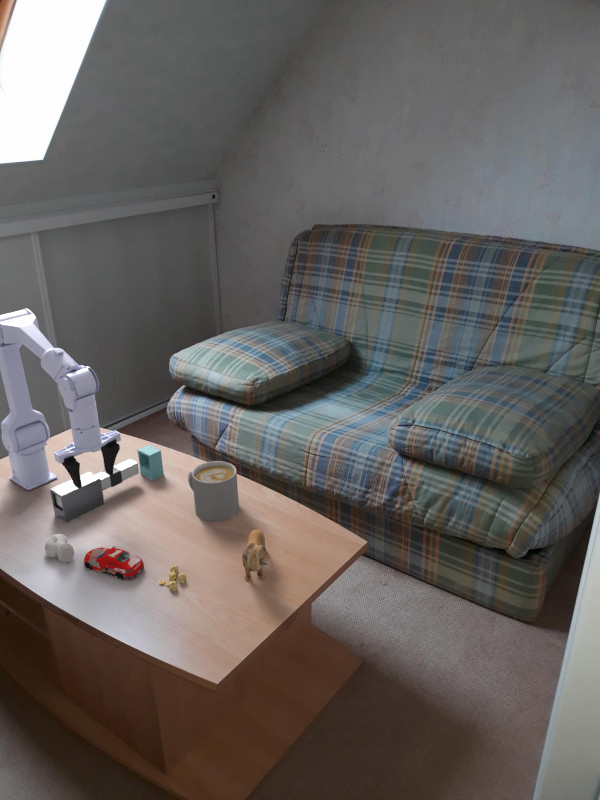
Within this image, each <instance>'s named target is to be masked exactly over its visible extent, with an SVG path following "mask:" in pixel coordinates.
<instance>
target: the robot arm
mask: <svg viewBox="0 0 600 800" xmlns="http://www.w3.org/2000/svg"><path fill="white" fill-rule="evenodd" d="M22 346H23V347H26V348H27V349H28V350H29V351H30V352H31V353H33V354H34V355H35V356H37V357H38V358H39V359H40V367H41V368H42V369H43V370H44V371H45V372H46V373H47V374H48V375H49V377H50V378H52V379H53V381H55V383H57V384H58V385H57V388H58V391H59V394H60V395H61V397H62V399H63V404H64V406H65V408H67V411H68V417H69V423H70V427H71V429H70V430H71V434H72V435H71V436H72V440H73V442H72V443H70V444H68V445H66V446H64V447H63V448H61V449H59V450H57V451H55V452H53V455H54V459H55V462H57V463H58V464H62V467H64V468H65V470H66V472H68V474H69V475H68V476H70V479H72V480H73V483H74V485H75V486H76V487H77V488H81V487H82V485H81V479H80V475H81V474H80V471H81V469H80V468H81V463H80V462H79V461H77V458H76V457H77V456H80V455H82V454H85V453H90V452H91V453H97V452H100V451H101V454H102V459H103V467H104V470H105V471H106V473H108V474H109V475H112V474H113V469H114V466H115V461H116V458H117V455H118V454H119V451H120V449H121V447H120V444H119V443H118V442H120V441H121V442H122V436H121V432H119V431H117V430H112V431H109V432H103V433H101V428H100V421H99V420H100V419H99V416H98V414H99V413H98V409H97V402H96V395H95V393H97V392H98V391H99V390H100V381H99V379H98V375H97V374H96V372H95V371H94V370H93V369H92V368H91V366H87V365H86V366H85V365H83V364H80V365H79V364H78V363H77V362H76V361H75V360H74V358H72V357H71V356H70V354H69V353H67V352H66V351H65V350H64V349H63V348H60V347H54V346H53V345H52V344H51V342H49V340H48V338H46V336H45V335H44V334H43V333H42V331H40V326H39V321H38V318H37V316H36V315H35V314H34V312H32V311H31V310H30V308H22V309H20V310H16V311H12V312H7V313H3V314H0V375H1V379H2V382H3V383H2V384H3V386H4V391H5V395H6V400H7V403H8V408H9V413H8V415H7V416H6V417H5V418H4V419H3V420H2V422H1V423H0V429H1V441H2V444H3V446H4V447H5V450H6V451H7V452H8V459H9V463H10V469H11V473H12V475H11V476H9V479H10V481H13V482H14V483H16V484H17V485H19V486H21V488H24V489H25V490H27V491H30V490H33V489H35V488H37V487H40V486H41V485H44V484H47V483H49V482H52V481H53V480H56V479H57V478H58V476H57V475H56V474H55V473H53V472H51V471H50V469H49V465H48V459H47V452H46V448H45V446H47V445H48V444H47V441H49V440H50V436H51V431H50V427H49V425H48V423H47V422H46V418H45V415H44V414H43V413H42V412H40V411H38V410H35V409H33V405H32V401H31V396H30V391H29V387H28V383H27V378H26V374H25V373H26V372H25V370H24V369H25V368H24V367H23V366H24V364H23V360H22V356H21V352H20V348H21V347H22Z"/></svg>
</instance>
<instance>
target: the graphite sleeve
mask: <svg viewBox="0 0 600 800" xmlns="http://www.w3.org/2000/svg"><path fill="white" fill-rule="evenodd" d="M80 479H81V485H82V487H81V488H77V487H76V486H75V485H74V483H73V480H72V478H70V479H69V480H67V481H64V482H63V483H60V484H57V485H56V486H53V487H51V488H49V493H50V496H51V502H52V506H53V512H54V513H53V514H54V517H57V518H58V519H60V520H61V521H63V522H64V523H66V524H67V523H69V522H71V521H73V520H76V519H77V518H79V517H81V516H83V515H85V514H88V513H89V512H92V511H94V510H95V509H97V508H99V507H102V506H104V505H105V499H104V490H103V491H102V485H101V478H99V477H97V476H96V474H93V473H92V472H90V471H87V472H85V473H82V474H80ZM55 495H57V496H59V497H60V498H61V502H62V508H61V507H60V506H58V505H57V503H56V497H55Z"/></svg>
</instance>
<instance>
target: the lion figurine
mask: <svg viewBox="0 0 600 800" xmlns="http://www.w3.org/2000/svg"><path fill="white" fill-rule="evenodd" d="M266 553H267V549H266V538H265V535H264V532H263V531H262V530H261V529H259V528H257V529H252V530H251V531H250V533H249V535H248V537H247V544H246V547H245V549H244V551H243V553H242V556H241V558H242V564H243V567H244V572H245V576H244V580H245V582H249V581H251V579H252V574H251V573H252V572H253V573H254V572H257V573H256V576H257V577H258V579H260V580H262V579H264V578H265V575H264V573H263V567H264V566H265V567H266V566H268V565H269V562H270V561H271V559H272V557H270V556H269V555H267V554H266Z"/></svg>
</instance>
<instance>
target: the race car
mask: <svg viewBox="0 0 600 800" xmlns="http://www.w3.org/2000/svg"><path fill="white" fill-rule="evenodd" d="M83 565H84V567H85V568H86V569H87V568H88V569H87V570H91V571H96V572H98V573H100V574H105V575H108V576H111V577H113V578H117V579H120V580H127V581H128V580H133V579H134V578H137V576H139V574H141V573H142V571H144V570H145V563H144V561H143V560H142V557H139V556H137V555H136V554H133V553H131V552H129V551H126V550H124V549H121V548H116V547H115V546H113V547H111V548H109V547H95V548H92V549H91V550H89V551H88V552H87V553H86V554H85V556H84V558H83Z"/></svg>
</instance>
